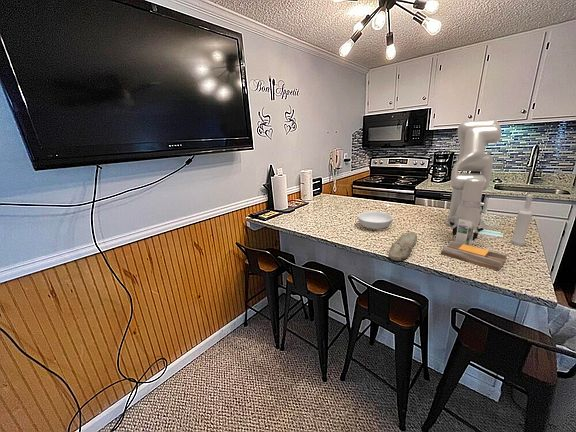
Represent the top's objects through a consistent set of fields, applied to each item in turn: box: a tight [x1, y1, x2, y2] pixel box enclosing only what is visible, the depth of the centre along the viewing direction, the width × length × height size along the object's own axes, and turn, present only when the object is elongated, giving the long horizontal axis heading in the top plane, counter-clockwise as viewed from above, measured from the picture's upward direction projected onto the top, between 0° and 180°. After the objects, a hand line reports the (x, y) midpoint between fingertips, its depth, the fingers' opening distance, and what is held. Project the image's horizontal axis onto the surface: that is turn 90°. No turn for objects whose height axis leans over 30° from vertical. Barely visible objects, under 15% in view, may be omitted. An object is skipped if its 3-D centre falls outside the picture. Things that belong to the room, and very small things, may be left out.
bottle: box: [510, 194, 534, 246], centre depth 120 cm, size 5×5×25 cm
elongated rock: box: [388, 231, 418, 262], centre depth 127 cm, size 35×5×10 cm
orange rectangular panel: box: [458, 244, 490, 257], centre depth 113 cm, size 7×10×1 cm
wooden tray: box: [440, 240, 508, 272], centre depth 114 cm, size 12×22×4 cm, turn 40°
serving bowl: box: [357, 210, 394, 230], centre depth 156 cm, size 21×21×7 cm
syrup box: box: [454, 219, 474, 246], centre depth 124 cm, size 6×6×14 cm
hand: (464, 236), depth 124 cm, fingers open, 7 cm apart
